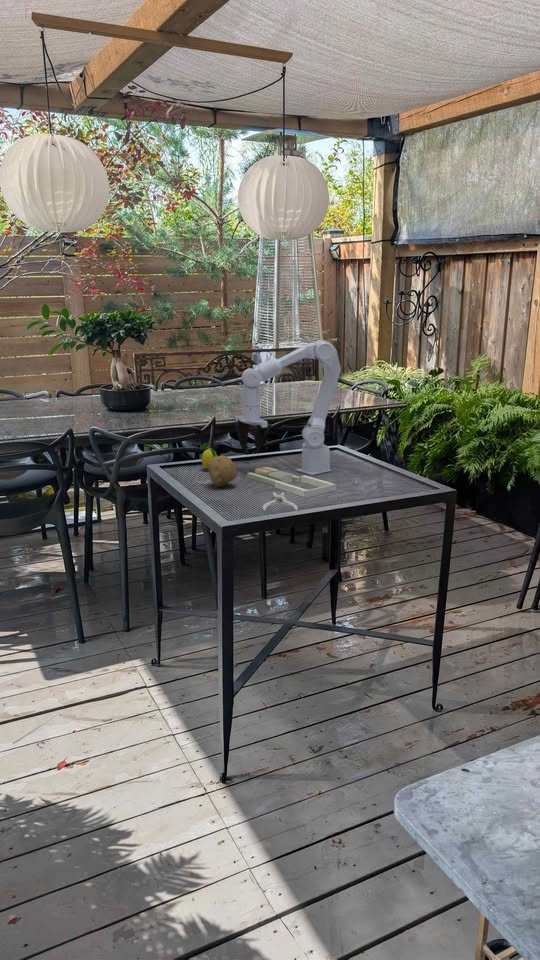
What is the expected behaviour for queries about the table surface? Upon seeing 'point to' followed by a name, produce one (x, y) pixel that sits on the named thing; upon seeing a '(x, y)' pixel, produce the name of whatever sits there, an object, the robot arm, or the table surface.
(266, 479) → the slot rails
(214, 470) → the brown potato
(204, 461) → the lemon
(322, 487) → the tray
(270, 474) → the aluminium block
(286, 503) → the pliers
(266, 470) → the ash block
